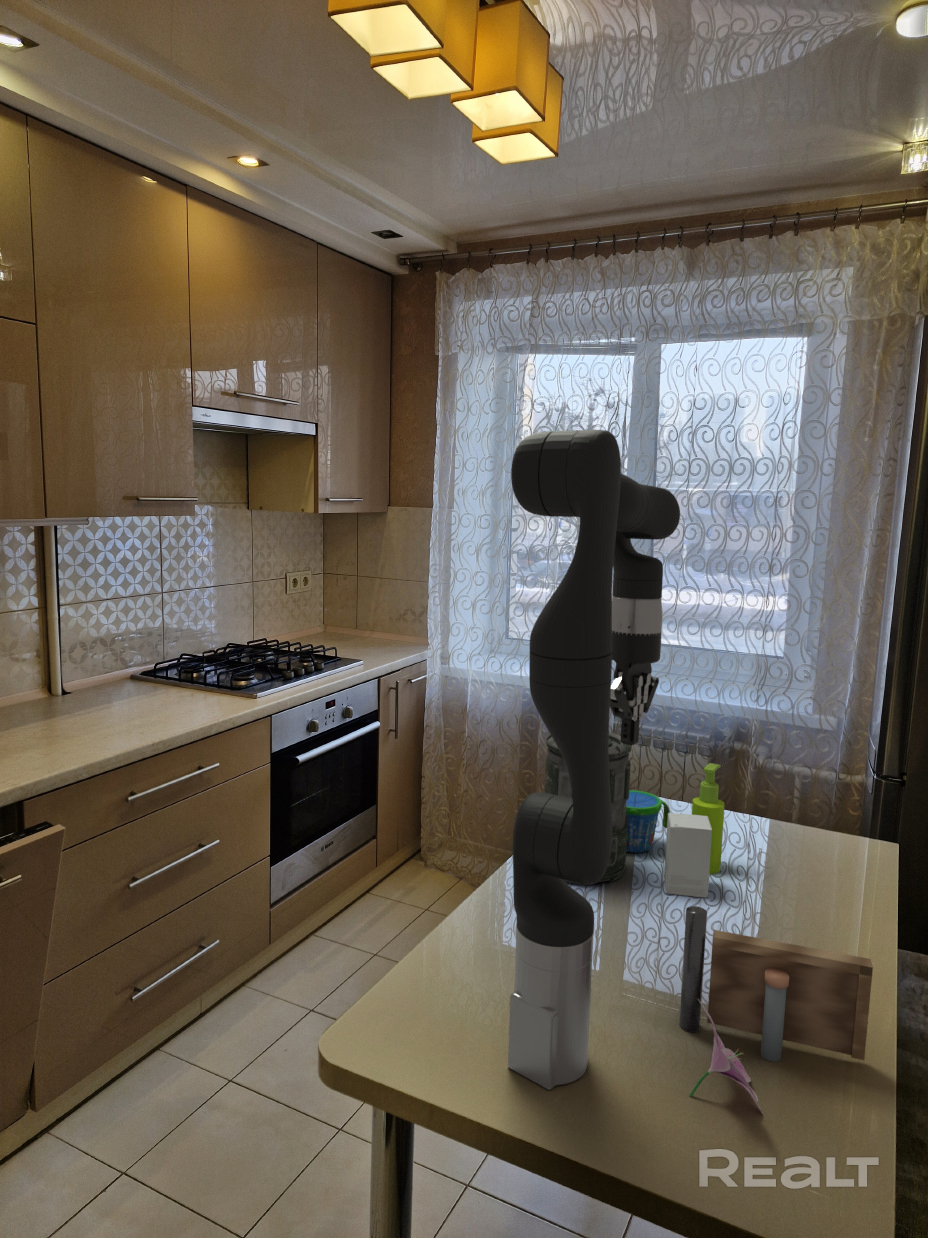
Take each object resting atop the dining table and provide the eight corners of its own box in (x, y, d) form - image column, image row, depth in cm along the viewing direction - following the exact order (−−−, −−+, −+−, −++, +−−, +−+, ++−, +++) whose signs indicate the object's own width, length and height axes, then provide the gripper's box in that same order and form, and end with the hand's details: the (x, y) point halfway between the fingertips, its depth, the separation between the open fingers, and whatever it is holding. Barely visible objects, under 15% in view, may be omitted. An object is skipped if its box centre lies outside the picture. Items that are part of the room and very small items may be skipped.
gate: (707, 1025, 104) (712, 937, 103) (707, 1016, 106) (713, 929, 105) (864, 1060, 98) (872, 967, 97) (862, 1050, 100) (870, 959, 99)
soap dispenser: (725, 864, 157) (731, 764, 155) (715, 877, 151) (722, 773, 149) (695, 856, 160) (701, 759, 158) (684, 869, 154) (690, 767, 152)
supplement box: (708, 899, 142) (712, 830, 141) (665, 894, 144) (669, 826, 142) (704, 880, 150) (708, 815, 148) (663, 876, 151) (667, 811, 149)
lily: (746, 1162, 85) (792, 1084, 85) (648, 1084, 90) (692, 1010, 90) (750, 1121, 96) (790, 1051, 96) (662, 1053, 101) (701, 987, 101)
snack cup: (604, 859, 158) (606, 809, 157) (587, 838, 168) (589, 791, 167) (679, 855, 160) (682, 806, 159) (658, 835, 171) (661, 788, 170)
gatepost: (694, 1035, 104) (702, 918, 102) (675, 1026, 106) (682, 911, 104) (702, 1025, 106) (710, 910, 104) (684, 1017, 108) (691, 904, 106)
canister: (550, 846, 163) (555, 711, 160) (629, 858, 159) (636, 719, 155) (532, 879, 148) (538, 731, 145) (619, 893, 144) (627, 740, 140)
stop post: (778, 1066, 99) (784, 983, 97) (755, 1056, 101) (761, 975, 99) (786, 1055, 101) (792, 974, 100) (763, 1045, 103) (769, 965, 101)
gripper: (636, 635, 110) (630, 758, 112) (679, 626, 120) (672, 739, 123) (589, 629, 115) (584, 747, 117) (633, 621, 125) (628, 730, 127)
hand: (629, 743), depth 120 cm, fingers closed
